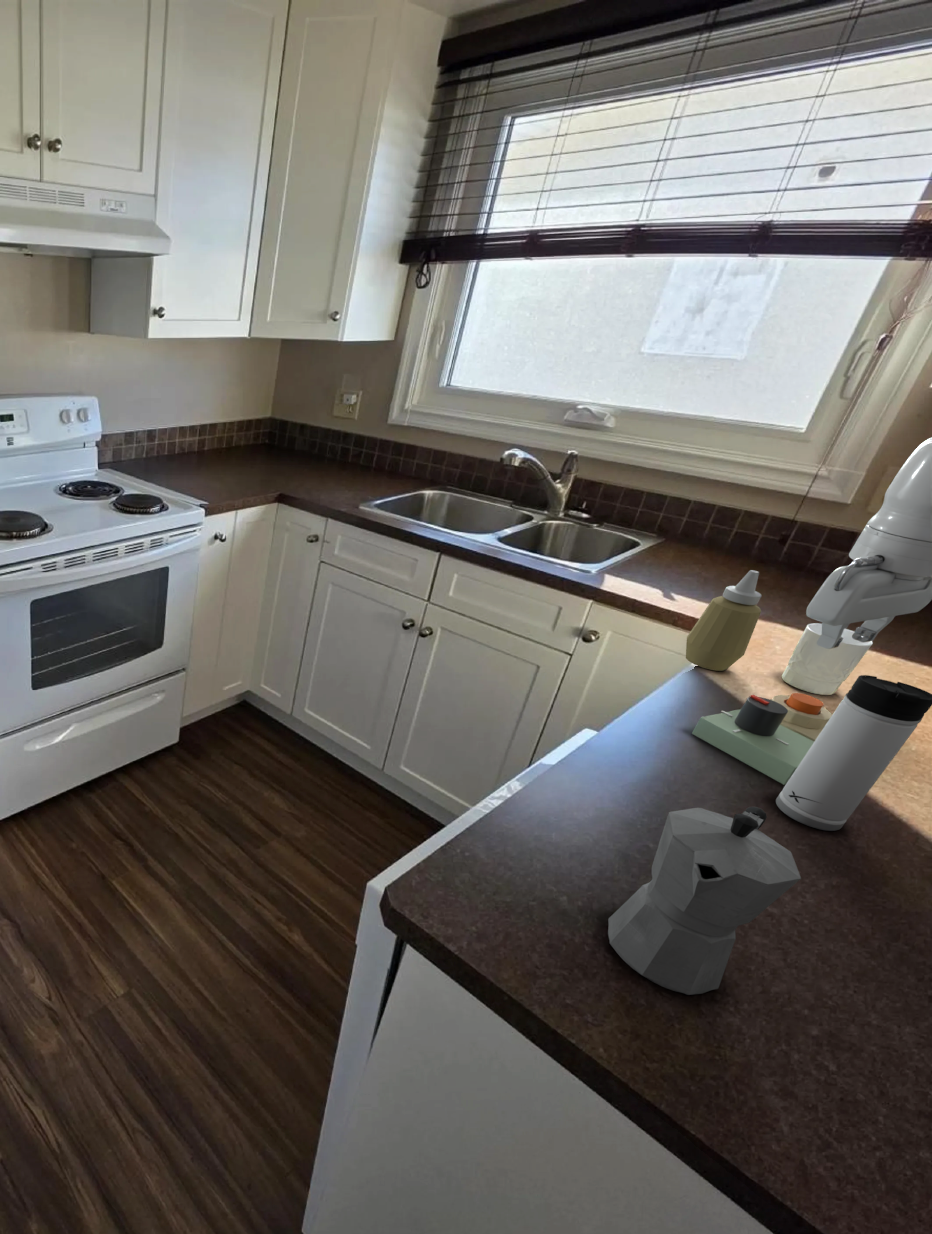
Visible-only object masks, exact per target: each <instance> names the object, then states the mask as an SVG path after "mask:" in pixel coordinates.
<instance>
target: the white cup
mask: <svg viewBox="0 0 932 1234" xmlns="http://www.w3.org/2000/svg"><path fill="white" fill-rule="evenodd" d="M821 631H822V623H821V622H819V623H818V622H815V623H808V624H807V625H806V626H805V629H804V630H803V633H802V634H801V636H800V638H799V640H798V642H797V643H796V646H795V648H794V650H793V651H792V654H791V656H790V657H789V660H788V663H787V665H786V667H785V669H784V671H783V672H782V675H781V678H782V681H784V682H785V683H787V684H788V685H789V686H792V687H794V688H796V689H798V690H800V691H804V692H807V693H810V694H814V695H819V696H820V695H821V696H831V695H834V694H835V693H836V692H837V691H838V689H839V688H840V686H842V684H843V683H844V682H845V681H847V680H848V679H847V678H849V676H850V675H851V674H852V672H853V671H855V669H856V667H857V666H858V664H859V663H860V662H861V661H862V659H863V658H864V656H865V655H866V654H867V653H868V651H869V650H870V648H871V647H872V646H873V644H874V642H873V641H870V642H860V641H858V640H855V639H853V638H852V635H853V634H854V633H855V630H851V629H849V628H846V629H844V630H843V633H842V635H841V637H842V638H843V640H842V641H841V643H840V644H839V646H838V647H836V648H831V649H826V648H824V647H821V646H819V645H818V644H817V640H818V639H819V637H820V635H821V634H822V633H821Z"/></svg>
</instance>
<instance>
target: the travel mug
mask: <svg viewBox="0 0 932 1234" xmlns="http://www.w3.org/2000/svg"><path fill="white" fill-rule="evenodd" d="M931 707H932V693H931V692H929V691H926V690H924V689H921V688H919V687H917V686H915V685H914V686H913V685H911V684H908V683H904V682H900V681H897V682H894V681H890V680H887V679H882V678H878V676H876V675H875V676H874V675H869V674H861V675H858V677H857V678H856V680H855V681H854V683H853V684H852V686H851V687H850V689H849V691H848V692H847V693H846V694H845V695H844V697H843V699H842V700H841V701H840V702H839V704H838V705H837V707H836V709H835V710H834V712H833V713H832V716H831V718H830V719H829V721H828V722H827V724H826V725H825V727H824V728H823V730H822V731H821V733H820V734H819V736H818V737H817V739H816V740H815V742H814V743H813V745H812V746H811V748H810V749H809V751H808V752H807V754H806V755H805V757H804V758H803V760H802V761H801V763H800V764H799V766H798V767H797V769H796V770H795V772H794V773H793V775H792V776H791V778H790V779H789V781H788V782H787V784H785V785H784V786H783V788H782V790H781V791H780V792H779V794H778V796H777V797H776V799H775V804H776V806H777V807H778V809H779V810H780V811H781V812H782V813H784V814H785V815H786V816H787V817H788V818H791V819H792V820H794V821H796V822H798V823H800V824H802V825H805V826H807V827H810V828H813V829H817V830H821V831H828V832H833V831H834V832H835V831H839V830H841V829H842V828H843V827H844V825H845V823H847V821H848V819H849V818H850V817H851V816H852V815H853V813H854V812H855V811H856V809H857V808H858V807H859V805H860V804H861V803H862V801H863V800H864V798H865V797H866V796H867V794H868V793H869V791H870V790H871V789H872V788H873V787H874V785H875V784H876V782H877V781H878V779H879V778H880V777H881V775H882V774H883V773H884V771H885V770H886V769H887V768H888V766H889V765H890V763H891V762H892V761H893V760H894V758H895V757H896V756H897V754H898V753H899V751H900V750H901V749H902V747H903V746H904V745H905V744H906V742H907V741H908V739H909V738H910V736H911V735H912V734H913V733H914V731H915V730H916V728H917V727H918V724H920V723H921V722H922V720H923V718H924V716H925V714H926V713H927V712H928V711H929V710H930V709H931Z"/></svg>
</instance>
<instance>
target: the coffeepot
mask: <svg viewBox="0 0 932 1234" xmlns="http://www.w3.org/2000/svg"><path fill="white" fill-rule="evenodd" d="M667 813H668V815H667V817H666V820H665V823H664V827H663V830H662V833H661V836H660V839H659V842H658V845H657V849H656V852H655V854H654V859H653V862H652V866H651V880H650V882H647V883H645V884H642V885H641V886H640V887H639V888H638V889H637V890H636V891H635V892H634V893H633V894H632V895H631V896H630V897H629V898H628V899H627V900H626V901H625V902H623V904H622V905H621V906H620V907H619V908H618V909H617V910H616V911H614V912H613V914H612V915H611V916H609V917H608V929H607V936H608V940H609V944H610V946H611V948H613V950H614V951H615V952H616V954H617V955H618V956H619V957H620V958H621V959H622V960H623V961H624V962H625V963H626V965H628V966H629V967H630V968H631V969H633V970H634V971H635V972H637V973H638V974H639V975H641V976H642V977H644V978H646V979H647V980H649V981H650V982H652V983H654V984H656V985H658V986H661V987H662V988H665V989H667V990H670V991H673V992H676V993H679V994H680V993H681V994H685V995H687V996H690V995H691V996H693V995H702V994H705V993H707V992H710V991H714V990H718V989H719V988H720V985H721V982H722V979H723V977H724V973H725V971H726V968H727V966H728V962H729V959H730V956H731V953H732V951H733V948H734V944H735V942H736V939H737V938H736V930H737V929H738V927H739V926H743V925H746V924H749V923H751V922H752V921H754V920H755V919H756V918H757V917H758V916H759V915H761V914H762V913H763V912H764V911H765V910H766V909H768V908H769V907H770V906H771V905H772V904H773V903H774V902H776V901H777V900H778V899H779V898H780V897H781V896H783V895H784V894H785V893H786V892H787V891H789V890H790V889H791V888H792V887H793V886H794V885H796V883H798V882H799V881H800V880H802V877H801V874H800V871H799V869H798V867H797V864H796V862H795V859H794V855H793V853H792V852H791V850H789V849H787V848H786V847H784V846H782V845H781V844H779V843H778V842H777V841H775V840H774V839H773V838H771V837H769V836H768V835H766V834H765V833H764V832H762V831H761V830H760V828H761V827H762V826H763V825H764V824H765V822H766V820H767V818H768V815H767V813H766V812H765V810H763V809H762V808H760V807H758V806H749V807H747V808H746V809H745V810H744V811H743V812H742V813H734V816H733V817H731V816H726V815H724V814H722V813H718V812H715V811H713V810H712V811H711V810H708V809H706V808H702V807H693V808H685V809H680V810H673V811H669V812H667Z"/></svg>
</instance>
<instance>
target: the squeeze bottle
mask: <svg viewBox="0 0 932 1234" xmlns="http://www.w3.org/2000/svg"><path fill="white" fill-rule="evenodd" d="M759 575H760V571H757V570H754V569H750V570H748V572H747V573H746V574H745V575H744V576H743V577H742V579H740V581H739V582H738V583H737V584H736V585H729V586H726V587H725V589H724V591H723V593H722V595H720V596H716V597H714V598H712V599H711V601H709V603H708V605H707V607H706V608H705V609H704V611H703V612H702V614H701V615H700V617H699V618H698V620H697V621H696V623H695V624H694V626H693V627H692V629H690V631H689V633H688V635H687V636H686V645H685V659H686V660H687V661H688V662H690V663H691V664H693V665H695V666H698V667H700V668H702V669H705V670H706V669H707V670H711V671H717V672H718V671H719V672H721V671H726V670H727V669H729V668H730V667H731V666H733V664H735V663H736V662H737V661H738V660H740V659H741V658H742V657H743V656H745V654H746V651H747V649H748V646H749V644H750V641H751V638H752V636H753V634H754V631H755V628H756V625H757V623H758V621H759V618H760V616H761V613H762V610H761V608H760V607H759V606H758V604H759V602H760V600H761V598H762V593H760V592H759V591H756V588H757V584H758V579H759Z"/></svg>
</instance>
